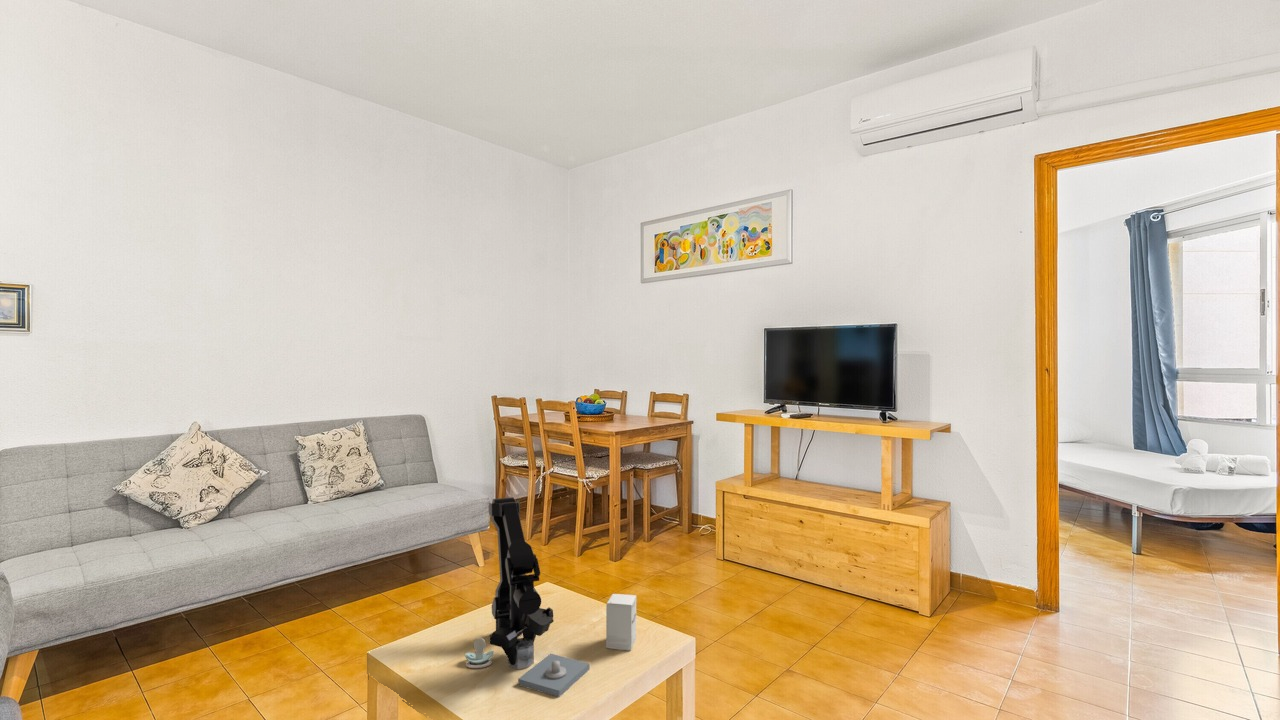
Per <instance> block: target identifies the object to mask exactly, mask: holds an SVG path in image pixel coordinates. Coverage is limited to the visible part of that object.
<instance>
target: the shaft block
mask: <svg viewBox="0 0 1280 720" xmlns="http://www.w3.org/2000/svg"><path fill="white" fill-rule="evenodd" d="M589 670H590V662H585V661H582V660H576V659H573V658H570V657H565V656H563V655H558V654H554V653H550V654H548V655H547V656H546V657H544V658H543V659H542V660H540V661H539V662H538V663H536V664H535V665H534V666H533V667H531V668H530V669H529V670H528V671H526V672H525V673H524V674H522V675H521V676H520V677H519V678H517V681H518V682H517V685H518V686H521V687H525V688H527V689H531V690H534V691H538V692H541V693H545V694H547V695H551V696H555V697H559V698H560V697H561V696H562V695H563V694H564V693H566V691H567V690H569V689H570V687H571V688H572V686H573V685H574V684H575V683H576V682H577V681H579V679H580V678H582V677H583V676H584V675H585V674H586V673H587V672H588V671H589Z"/></svg>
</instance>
